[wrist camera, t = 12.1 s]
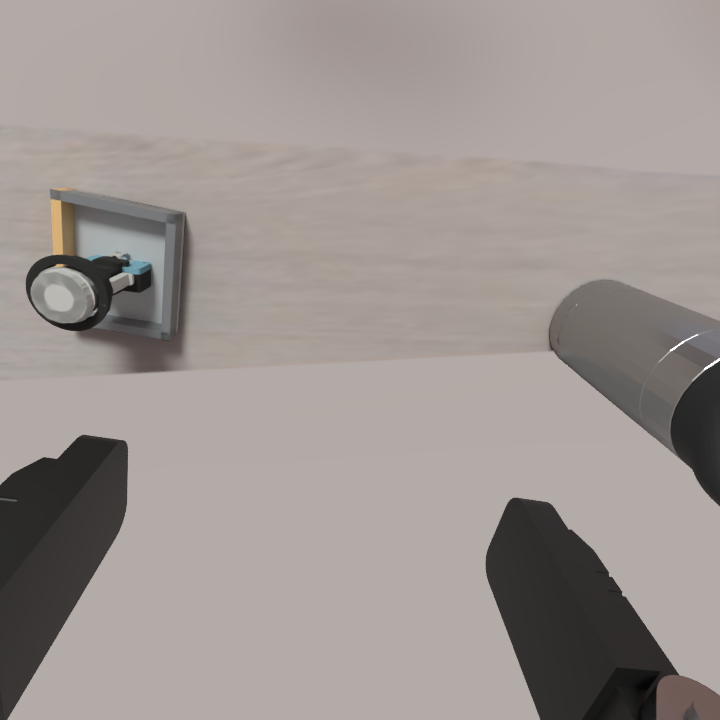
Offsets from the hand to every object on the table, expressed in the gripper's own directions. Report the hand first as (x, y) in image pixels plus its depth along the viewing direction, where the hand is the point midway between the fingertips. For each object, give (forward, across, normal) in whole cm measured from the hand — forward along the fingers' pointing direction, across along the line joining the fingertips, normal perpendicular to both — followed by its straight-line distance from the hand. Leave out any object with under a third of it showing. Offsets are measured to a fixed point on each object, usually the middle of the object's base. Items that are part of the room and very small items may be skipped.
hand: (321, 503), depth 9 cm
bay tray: (+33, +18, +5) cm, 38 cm away
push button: (+33, +18, +5) cm, 38 cm away
